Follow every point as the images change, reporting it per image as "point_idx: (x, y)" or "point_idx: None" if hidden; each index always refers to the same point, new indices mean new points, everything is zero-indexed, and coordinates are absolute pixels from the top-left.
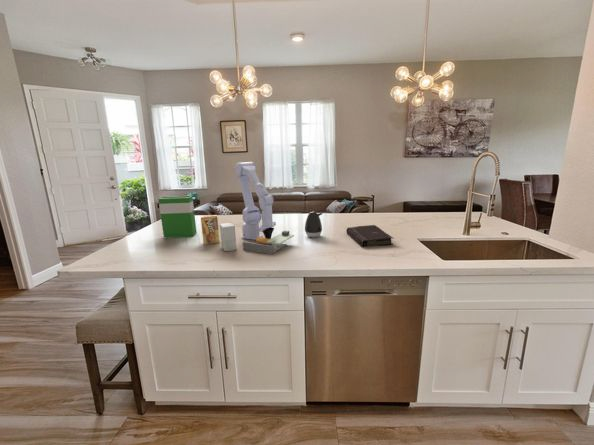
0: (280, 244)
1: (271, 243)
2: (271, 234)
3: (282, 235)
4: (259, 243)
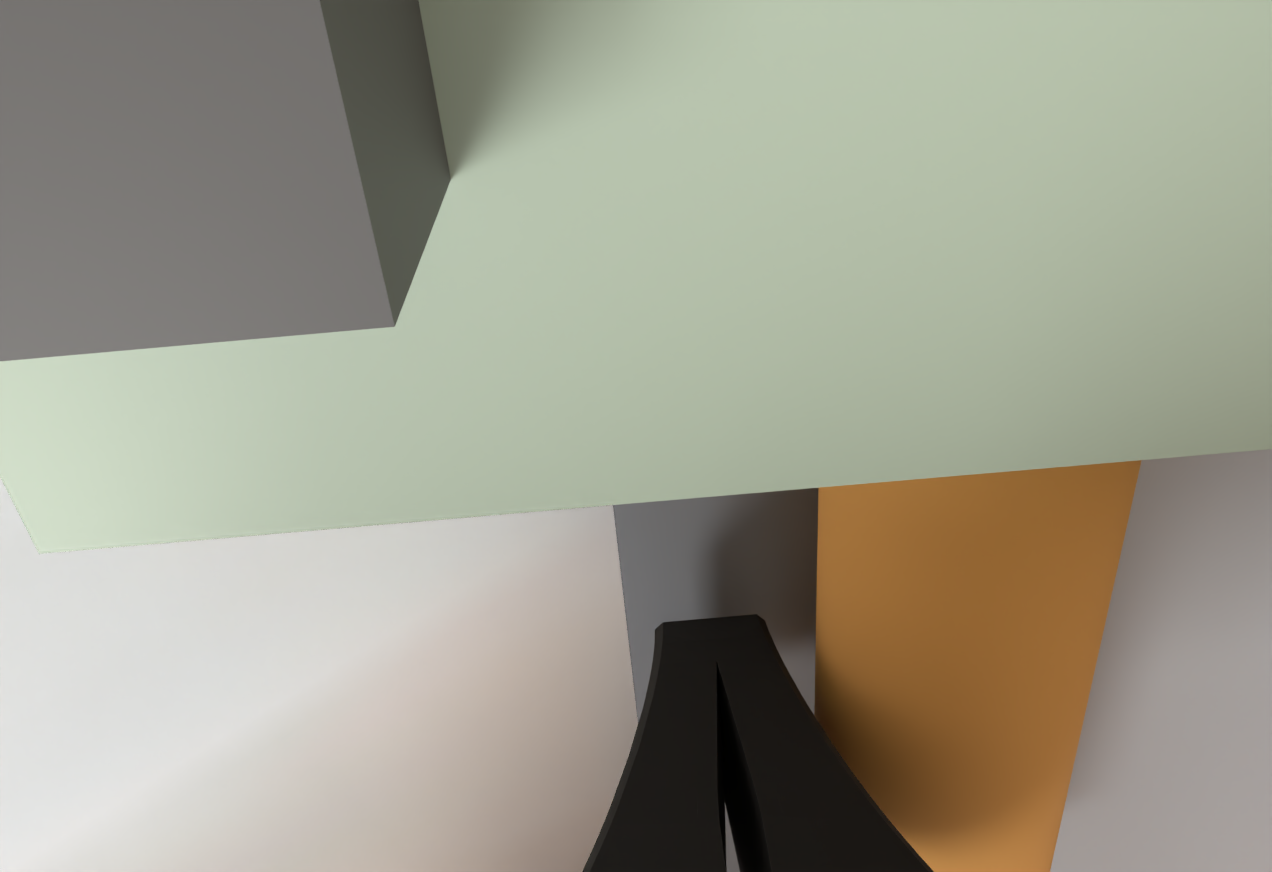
0: None
1: None
2: (643, 836)
3: (434, 130)
4: None
